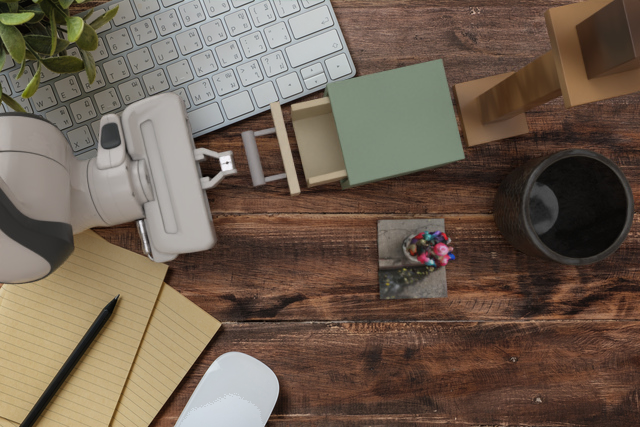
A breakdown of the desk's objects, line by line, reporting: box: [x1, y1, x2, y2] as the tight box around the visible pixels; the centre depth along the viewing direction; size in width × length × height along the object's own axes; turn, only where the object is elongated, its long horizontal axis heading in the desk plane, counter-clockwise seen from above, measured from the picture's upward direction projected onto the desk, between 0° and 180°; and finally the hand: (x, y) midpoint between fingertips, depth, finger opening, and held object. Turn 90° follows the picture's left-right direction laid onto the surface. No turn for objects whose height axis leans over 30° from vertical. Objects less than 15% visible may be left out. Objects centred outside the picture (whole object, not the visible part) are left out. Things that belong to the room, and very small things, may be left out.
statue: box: [376, 218, 456, 300], centre depth 61 cm, size 11×9×15 cm
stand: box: [451, 0, 640, 148], centre depth 56 cm, size 9×9×26 cm
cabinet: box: [322, 58, 466, 191], centre depth 63 cm, size 15×13×10 cm
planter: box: [492, 148, 635, 267], centre depth 63 cm, size 14×14×13 cm
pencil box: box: [576, 0, 640, 80], centre depth 40 cm, size 5×5×6 cm
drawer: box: [240, 96, 348, 198], centre depth 62 cm, size 18×11×8 cm, turn 103°
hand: (235, 162), depth 61 cm, fingers closed
